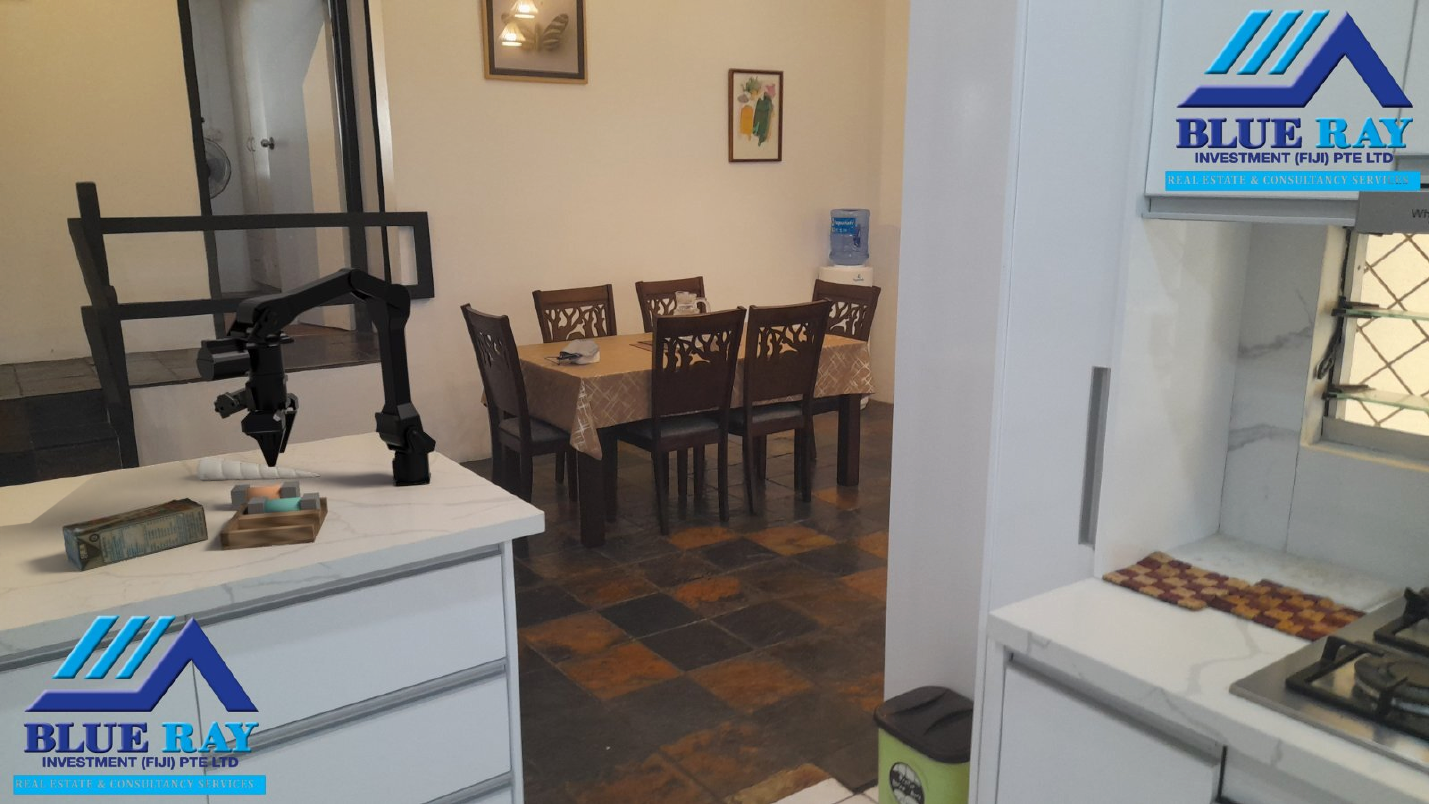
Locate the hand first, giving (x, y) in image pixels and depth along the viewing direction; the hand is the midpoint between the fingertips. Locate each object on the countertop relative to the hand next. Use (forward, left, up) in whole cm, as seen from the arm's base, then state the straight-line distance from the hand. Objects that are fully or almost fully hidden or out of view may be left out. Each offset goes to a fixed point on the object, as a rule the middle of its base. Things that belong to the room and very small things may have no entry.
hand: (276, 459), depth 168 cm
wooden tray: (0, +6, -11) cm, 12 cm away
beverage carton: (+20, +10, -11) cm, 25 cm away
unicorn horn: (+10, -29, -11) cm, 33 cm away
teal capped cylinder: (-1, +2, -10) cm, 11 cm away
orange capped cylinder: (+4, -9, -11) cm, 15 cm away
